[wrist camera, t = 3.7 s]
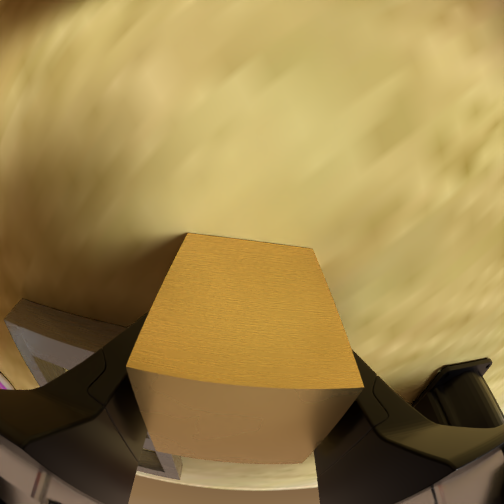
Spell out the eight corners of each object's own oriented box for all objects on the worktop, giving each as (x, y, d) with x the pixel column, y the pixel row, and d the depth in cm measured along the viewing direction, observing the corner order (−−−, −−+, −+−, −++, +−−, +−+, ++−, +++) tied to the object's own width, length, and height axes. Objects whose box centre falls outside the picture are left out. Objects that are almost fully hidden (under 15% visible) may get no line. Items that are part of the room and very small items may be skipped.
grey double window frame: (160, 333, 12) (148, 365, 10) (182, 463, 21) (180, 479, 19) (21, 298, 11) (3, 319, 10) (101, 443, 20) (97, 457, 19)
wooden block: (312, 248, 10) (364, 386, 5) (287, 338, 12) (301, 463, 7) (187, 233, 10) (125, 366, 4) (186, 326, 12) (156, 451, 6)
